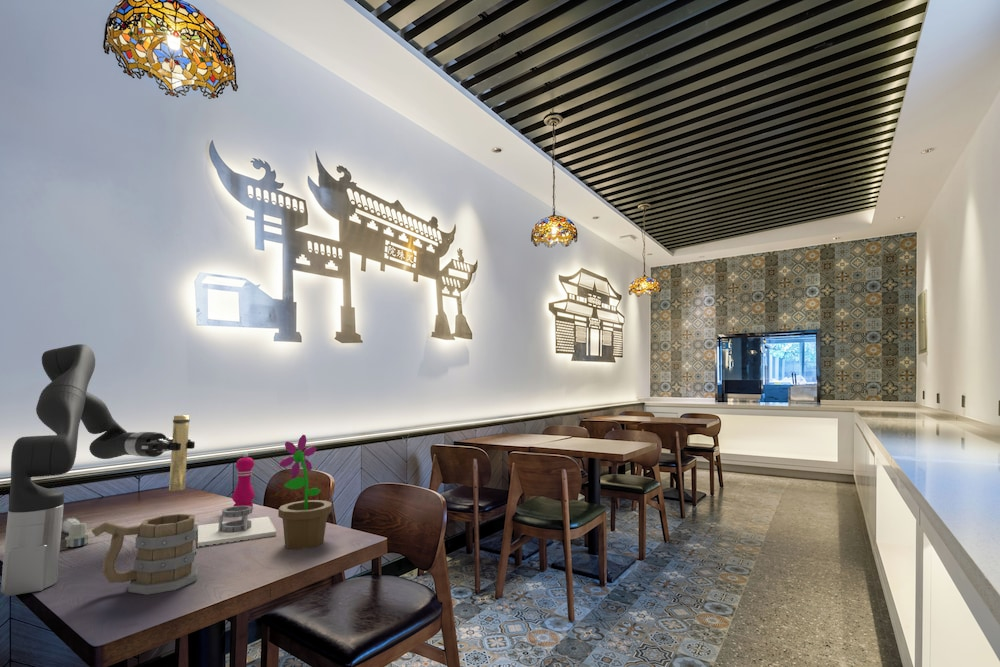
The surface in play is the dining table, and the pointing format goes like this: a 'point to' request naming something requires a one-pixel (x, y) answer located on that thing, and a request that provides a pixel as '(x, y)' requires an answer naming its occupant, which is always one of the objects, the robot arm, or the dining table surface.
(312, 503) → the flowerpot
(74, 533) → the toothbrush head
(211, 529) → the base
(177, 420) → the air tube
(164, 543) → the tankard
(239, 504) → the pepper mill
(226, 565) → the dining table surface
